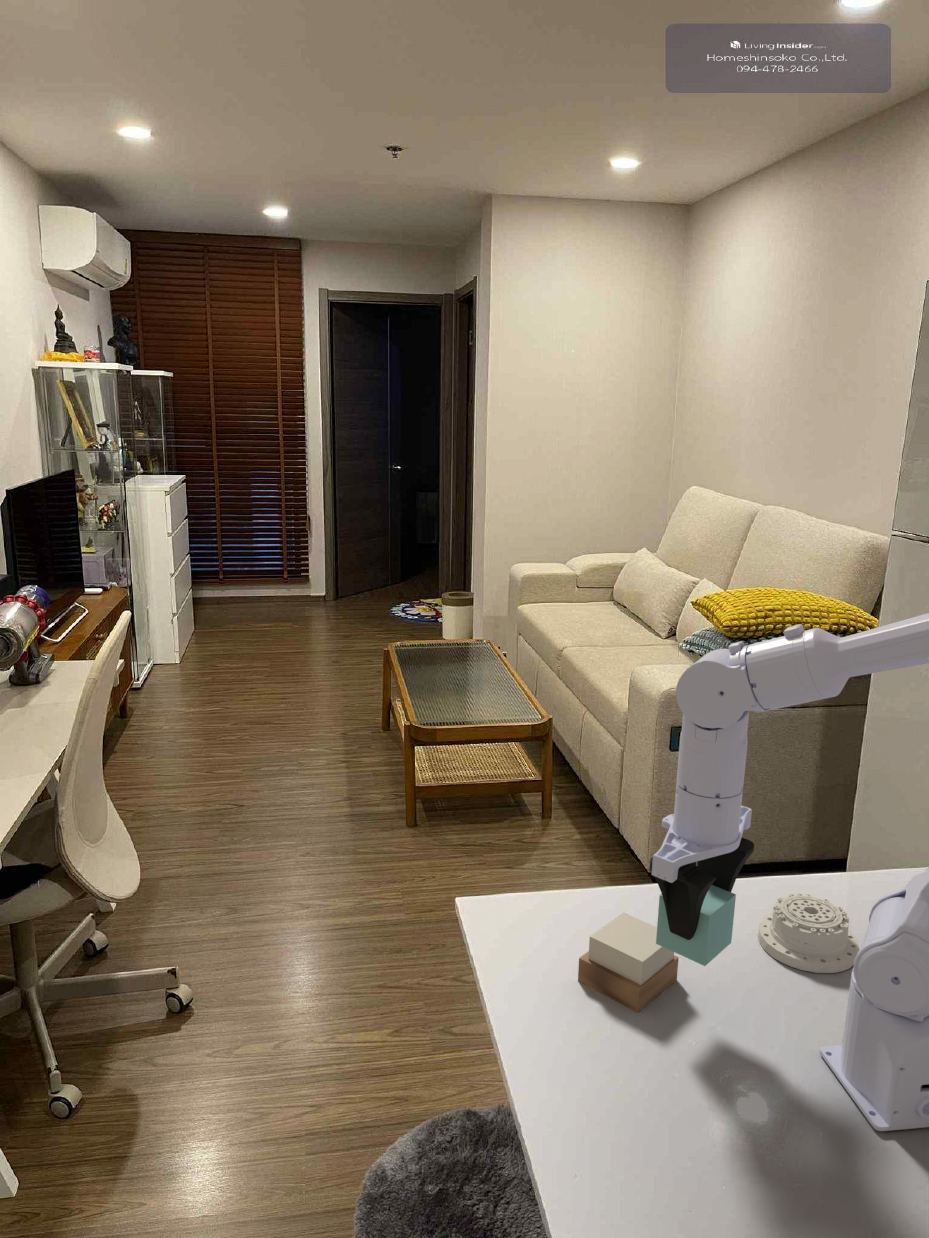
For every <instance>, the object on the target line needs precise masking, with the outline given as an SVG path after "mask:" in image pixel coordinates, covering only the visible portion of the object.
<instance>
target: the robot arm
mask: <svg viewBox="0 0 929 1238" xmlns="http://www.w3.org/2000/svg"><path fill="white" fill-rule="evenodd" d="M926 664H929V612H928V613H923V614H920V615H916V616H914V617H911V618H906V619H903V620H900V621H896V622H892V623H888V624H885V625H882V626H879V627H875V628H871V629H867V630H865V631H861V632H857V633H854V634H850V635H846V636H843V637H840V636H837V635H835V634H833V633H831V632H830V631H829V632H828V631H827V630H825V629H822V628H821V627H814V628H810V629H807V630H806V629H804V626H803V624H802V623H801V624H800V623H799V624H795V625H791V626H788V627H787V628H785V629H784V630H783V636H779V637H774V638H771V639H768V640H763V641H759V642H756V643H751V644H747V645H745V643H744V641H742V640H741V641H737V642H733V643H731V644H730V645H728V648H719V649H718V648H717V649H714V650H711V651H708V652H707V653H705V654H704V655H703V656H702V657H701V658H699V659H698V660H696V661H695V662H694V663H693V664H691V665H690V666H689V667H687V668H686V669H685V670H684V671H683V673H682V674H681V676H680V677H679V679H678V681H677V684H676V688H675V695H676V696H675V698H676V701H677V702H676V703H677V705H678V707H679V709H680V711H681V713H682V723H681V731H680V736H679V746H678V758H677V759H678V760H677V770H676V771H677V772H676V783H675V784H676V786H675V797H674V806H673V808H674V810H673V813H671V814H668V815H667V816H665V817H663V818H662V820H661V827H662V828H664V829H665V830H667V833H666V834H665V837H664V839H663V842H662V844H661V846H660V849H658V851H657V852H655V853H654V854H653V855H652V857H651V858H650V859H649V871H650V873H651V876H652V877H654V879H655V881H656V883H657V886H658V888H659V890H660V894H662V896H663V900H664V904H665V909H666V914H667V919H668V924H669V929H670V932H671V933H673V934H676V935H678V936H680V937H682V938H685V939H687V940H690V939H692V938H693V936H694V934H695V932H696V929H697V926H698V921H699V917H700V912H701V908H702V904H703V901H704V899H705V896H706V894H707V892H708V890H709V888H710V886H711V885H713V886H716V887H719V888H721V889H724V890H726V891H729V892H731V893H732V891H733V888H734V885H735V883H736V882H737V881H736V880H737V878H738V876H739V874H740V872H741V870H742V868H743V866H744V865H745V863H746V861H747V860H748V859H749V857H751V855H752V854H753V853H754V851H755V843H754V842H753V841H751V840H749V839H747V838H745V837H743V833H744V831H747V830H748V829H750V828H751V825H752V824H751V822H752V813H753V809H752V808H750V807H748V806H744V805H742V803H743V792H744V783H745V772H746V763H747V756H748V755H747V752H748V745H749V743H748V742H749V741H748V740H749V739H748V728H749V718H750V712H757V713H764V712H768V711H769V712H770V711H773V710H779V709H783V708H789V707H792V706H797V705H803V704H806V703H811V702H816V701H820V700H824V699H825V700H826V699H830V698H834V697H837V696H839V695H840V694H841V692H842V691H843V689H844V688H845V685H846V684H847V682H848V680H849V679H850V678H854V677H859V676H864V675H870V674H876V673H881V672H887V671H892V670H898V669H903V668H904V669H905V668H909V667H915V666H920V665H921V666H922V665H926ZM861 943H862V944H861V947H860V948H859V951H858V953H857V956H856V958H855V961H854V965H853V968H852V969H851V974H850V975H851V976H850V983H849V989H848V990H849V991H848V996H847V1004H846V1005H847V1006H846V1011H845V1013H846V1014H845V1020H844V1028H843V1036H842V1044H837V1045H835V1044H834V1045H824V1046H820V1047H819V1054H820V1055H821V1057H822V1058H823V1059H824V1062H826V1064H827V1065H828V1066H829V1068H830V1070H831V1071H832V1073H833V1074H834V1075H835V1076H836V1078H837V1079H838V1081H839V1082H840V1084H842V1086H843V1088H844V1089H845V1090H846V1092H847V1093H848V1095H849V1096H850V1098H851V1099H852V1100H853V1101H854V1102H855V1104H856V1106H857V1107H858V1108H859V1110H860V1111H861V1112H862V1114H863V1115H864V1117H865V1118H866V1120H867V1121H868V1122H869V1124H870V1125H871V1126H872V1128H873V1129H874V1130H875V1131H878V1132H888V1131H898V1130H899V1131H901V1130H910V1129H911V1130H912V1129H920V1128H921V1129H922V1128H929V866H927V868H926V869H925V870H924V871H923V872H921V873H918V874H916V875H913V876H912V878H911V879H910V880H909V881H908V882H907V883H906V884H905V885H904V886H903V887H902V888H900V889H898V890H896V891H893V892H891V893H887V894H885V895H883V896H882V897H880V898H878V899H877V901H875V903H874V904H873V906H872V907H871V909H870V913H869V917H868V925H867V928H866V931H865V933H864V938H863V941H862V942H861Z"/></svg>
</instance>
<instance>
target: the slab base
mask: <svg viewBox="0 0 929 1238" xmlns="http://www.w3.org/2000/svg"><path fill="white" fill-rule="evenodd" d="M588 957H589V950H588V951H587V952H585V953H584V954H583V955H581V956H580V957H579V958H578V972H577V977H578V978H577V981H578V982H579V983H581V984H583V985H585V986H586V987H589V988H591V989H593V990H594V991H597V992H599V993H600V994H602V995H603V996H605V997H608V998H610V999H611V1000H613V1001H615V1002H617V1003H619V1004H621V1005H623V1006H624V1007H627V1008H629V1009H630V1010H632V1011H634V1012H636V1013H640V1012H641V1011H642V1010H643V1009H645V1008H646V1007H647V1006H648V1005H649V1004H650V1003H652V1002H653V1001H654V1000H655V999H656V998H658V997H659V996H660V995H661V994H662V993H663V992H664V991H666V990H667V989H669V987H671V986H672V985H673V984H674V983H675V982H677V980H678V969H679V956H676V955H675V954H674V958H673V959H672V960H671V961H670V962H669V963H667V964H666V965H665V966H664V967H663V968H661V969H660V970H659V971H658V972H656V973H655V974H654V975H653V976H652V977H650V978H649V979H648V980H647V981H646V982H644V983H643V984H642V985H639V984H637V983H635V982H633V981H631V980H629V979H627V978H625V977H623V976H621V975H619V974H617V973H615V972H613V971H611V970H609V969H607V968H605V967H603V966H601V965H599V964H597V963H595V962H593V961H591V960H589V959H588Z"/></svg>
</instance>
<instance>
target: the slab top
mask: <svg viewBox="0 0 929 1238" xmlns="http://www.w3.org/2000/svg"><path fill="white" fill-rule="evenodd" d="M656 936H657V926H654V925H652V924H650V923H648V922H645V921H644V920H642V919H639V918H637V917H634V916H632V915H630V914H628V913H625V912H622V913H621V914H620V915H618V916H617V917H614V918H613V919H612V920H611V921H609V922H608V923H607V924H605V925H604V926H602V927H601V928H599V929H598V930H596V931H595V932H594V933H593V934H591V935H589V943H588V951H589V957H588V959H589V960H591V961H593V962H595V963H597V964H599V965H601V966H603V967H605V968H607V969H609V970H611V971H613V972H615V973H617V974H619V975H621V976H623V977H625V978H627V979H629V980H631V981H633V982H635V983H637V984H639V985H642V984H643V983H644V982H646V981H647V980H648V979H649V978H650V977H652V976H653V975H654V974H655V973H656V972H658V971H659V970H660V969H661V968H663V967H664V966H665V965H666V964H667V963H669V962H670V961H671V960H672V959H673V958H674V955H675V952H673V951H671V950H669V949H666V948H664V947H662V946H660V945H658V944H656Z"/></svg>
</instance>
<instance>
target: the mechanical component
mask: <svg viewBox="0 0 929 1238" xmlns="http://www.w3.org/2000/svg"><path fill="white" fill-rule="evenodd" d="M773 905H774V906H773V910H772V913H770V914H767V915H765V917H763V918H762V920H761V921H760V922H759V926H758V933H757V939H758V942H759V944H760V945H761V947H762V949H763V950H764V951H765V952H766V953H767V954H769V955H770V956H771V957H772V958H773V959H775V960H776V961H778V962H780V963H782V964H784V965H786V966H789V967H790V968H795V969H797V970H799V971H805V972H810V973H814V974H835V973H841V972H844V971H847V970H849V969H851V968H852V967H854V961H855V958H856V956H857V953H858V951H859V950H860V945H859V941H858V939H857V938H856V935H854V934H853V933H852V931H851V930H850V929H849V924H850V922H849V921H850V917H849V916H847V915H848V912H847V911H843V910H844V909H843V907H841V906H837V905H834V904H832V903H831V902H830V900H829V899H828V898H823V899H821V898H819V897H814V896H813V895H812V894H810V893H809V894H805V895H804V894H802V893H799V892H798V893H797V895H795V894H794V893H790V894H789V896H786V897H783V898H782V897H778V898H777V901H775V903H774V904H773Z"/></svg>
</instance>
